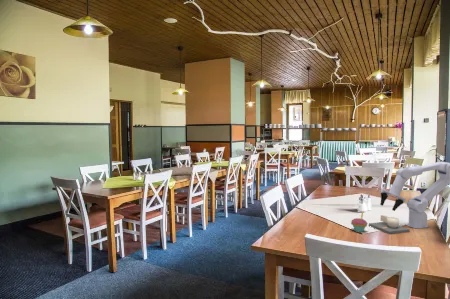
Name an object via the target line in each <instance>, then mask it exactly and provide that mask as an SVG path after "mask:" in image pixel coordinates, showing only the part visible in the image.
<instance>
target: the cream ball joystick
mask: <svg viewBox="0 0 450 299" xmlns="http://www.w3.org/2000/svg"><path fill="white" fill-rule="evenodd" d="M380 222H386V223H387V225H389V226H394V227H397V226H400V225H399V224H400V219H399V218H398V217H394V216H393V217H392V216H391V217H390V216H387V215H384V214H383V215H382V214H381V215H380Z"/></svg>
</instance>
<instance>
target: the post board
mask: <svg viewBox="0 0 450 299" xmlns="http://www.w3.org/2000/svg"><path fill="white" fill-rule="evenodd" d="M368 226H369V227H370V226H371V227H370V228H373V229H375V228H376V230H377V231H381V232H383V233H385V234H388V235H394V234H403V233H410V232H411V231H410V229H409V228H407V227H404V226H401V225H399V226H397V227H394V226H389V225H387V223H386V222H383V221H380V222H369V223H368Z"/></svg>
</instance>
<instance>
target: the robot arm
mask: <svg viewBox="0 0 450 299" xmlns="http://www.w3.org/2000/svg"><path fill="white" fill-rule="evenodd" d="M430 171H437V174H438V175H439V178H438V179H437V180H436V181H435V182H433V183H432V184H431V185H430V186H429V187H428V188H426V190H424V191H423V192H422V193H421V194H420V195H416V196H414V197H413V198H411V199H408V201H407V199H406V198H405V197H402V196H400V195H401V193H402V191H403V189H404V186H405V184H406V182H407V180H409V179H410V178H411V177H416V176H420V175H422V174H424V173H425V172H430ZM395 174H396V176H395V179H394V181H393V183H392V185H391V186H390V188H389V191H388V190H386V189H383V188H381V189H380V206H384V204H385V202H386V200H387V199H388V198H389V196H390V197H392V198H395V202H394V204H393V207H392V209H391V210H392V211H394V212H395V211H396V210H397V209H398V208H399V207H400V206H401V205H403V204H404V203H405V202H406V201H407V202H406V206H407V208H408V223H405V224H404V226H407V227H410V228H414V229H423V228H429V226H428V214H427V213H426V209H428V207H429V202H430V201H431V200H432V199H433V198H434V197H436V196H437V195H439V193H440V192H441V191H442V190H444V189H445V188H446V187H447V186H448V185H450V162H447V161H436V162H433V163H430V164H426V165H422V166H421V165H419V164H413V165H412V166H406V167H404V168H403V167H400V168H398V169H397V170H396V172H395Z"/></svg>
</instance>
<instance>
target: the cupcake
mask: <svg viewBox="0 0 450 299" xmlns="http://www.w3.org/2000/svg"><path fill="white" fill-rule="evenodd" d="M363 214H364V211H362V212H361V215H360V216H361V217H360V218H359V217H357V218H353V219H351V222H350V224H351V226H353V230H354V232H358V233H363V232H364V231H365V229H366V227H368V225H369V223H368V222H367V221H366V220H365V219H363V216H364V215H363Z"/></svg>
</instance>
